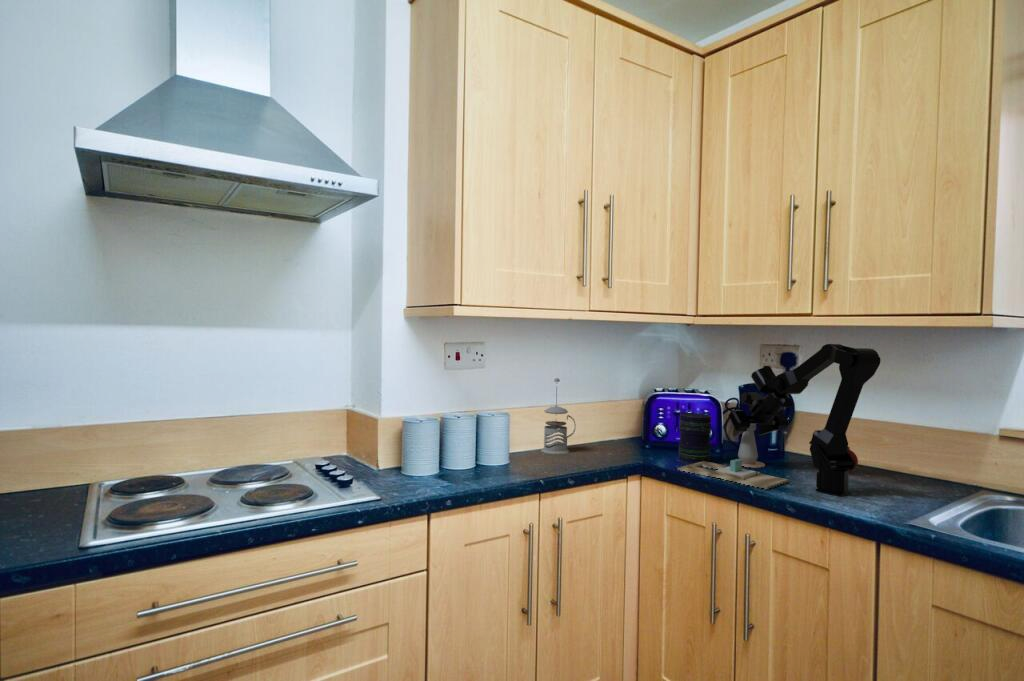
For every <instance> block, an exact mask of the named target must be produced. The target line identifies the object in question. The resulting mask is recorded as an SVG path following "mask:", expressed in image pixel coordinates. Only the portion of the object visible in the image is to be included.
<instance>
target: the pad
mask: <svg viewBox="0 0 1024 681" xmlns="http://www.w3.org/2000/svg"><path fill="white" fill-rule="evenodd" d="M742 466H744V467H743V468H749V467H751V469H760V468H761V467H762V468H765V467H766V464H765V463H764V462H761V461H758V460H756V462H755V464H751V465H749V464H743V463H742Z"/></svg>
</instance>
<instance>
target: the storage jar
mask: <svg viewBox="0 0 1024 681" xmlns="http://www.w3.org/2000/svg"><path fill="white" fill-rule="evenodd" d="M678 423H679V429H678V430H679V433H680V434H679V442H678V461H679V460H680V461H679V462H681V461H682V462H681V463H684V462H685V464H689V463H691V464H694V463H698V462H702V461H705V462H710V463H711V460H710V458H711V456H710V455H711V449H712V448H711V443H710V440H711V433H712V415H710V414H706V413H697V412H683V413H681V412H680V413H679V422H678Z"/></svg>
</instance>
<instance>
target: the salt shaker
mask: <svg viewBox="0 0 1024 681" xmlns="http://www.w3.org/2000/svg"><path fill="white" fill-rule="evenodd" d="M756 430H757V424H750V427H749V428H748V429H747V431H745V432H743V433H742V434H741V435H742V436H741V439H740V444H739V449H738V453H737V457H738V459H740V460H742V463H743V464H749V465H751V464H755V462H756V461H758V458H759V455H758V449H757V443H756V437H755V431H756Z"/></svg>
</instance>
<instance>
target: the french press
mask: <svg viewBox="0 0 1024 681" xmlns="http://www.w3.org/2000/svg"><path fill="white" fill-rule="evenodd" d="M553 382H556V383H558V382H561V381H560V378H559V377H556V378H554V381H553ZM555 396H556V397H555V399H556V401H555V406H550V407H547V408H546V409H545V410H544V413H546V414H552V415H565V414H567V413H568V412H569V411H568V410H567V409H566V408H563V407H562V406H558V404H557V403H558V401H557V400H558V387H556V394H555ZM568 418H570V419H571V420H572V421H573V423H574V429H573V431H572V433H570V434H568V427H567V426H566V425H567V422H566V421H558V420H548V421H545V426H544V431H543V434H544V437H543V438H544V439H543V441H544V442H543V448H541V450H540V451H541V452H542V453H545V454H551V455H563V454H564V455H565V454H569V453H570V452H571V451H570V450H569V449H568V439H569V438H570V437H572V436H573V435H574V434H575V431H576V421H575V419H574V418H573V417H572V416H571V415H568V414H567V415H566V420H568Z"/></svg>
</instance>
